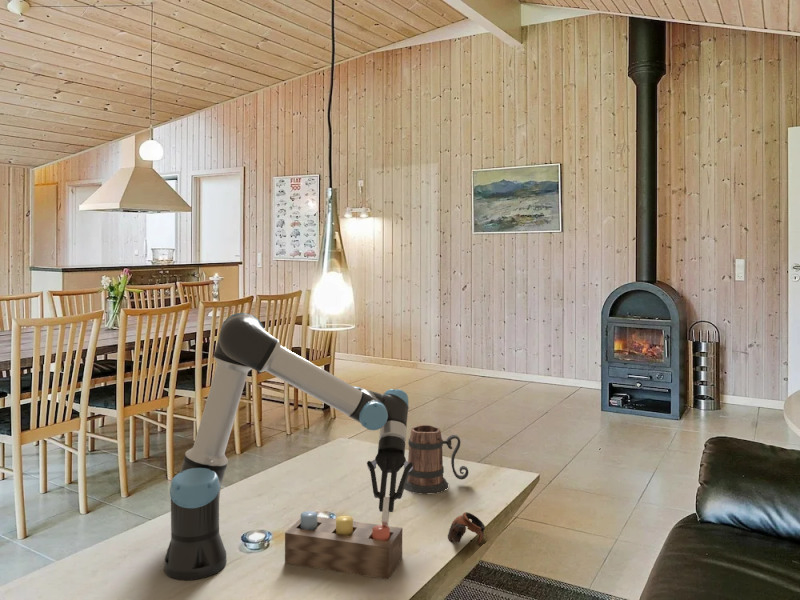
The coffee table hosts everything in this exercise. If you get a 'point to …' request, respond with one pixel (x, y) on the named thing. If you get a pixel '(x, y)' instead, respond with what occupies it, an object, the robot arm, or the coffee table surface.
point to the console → (344, 549)
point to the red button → (381, 532)
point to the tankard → (429, 460)
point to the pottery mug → (459, 527)
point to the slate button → (309, 520)
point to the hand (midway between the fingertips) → (384, 523)
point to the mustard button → (344, 525)
